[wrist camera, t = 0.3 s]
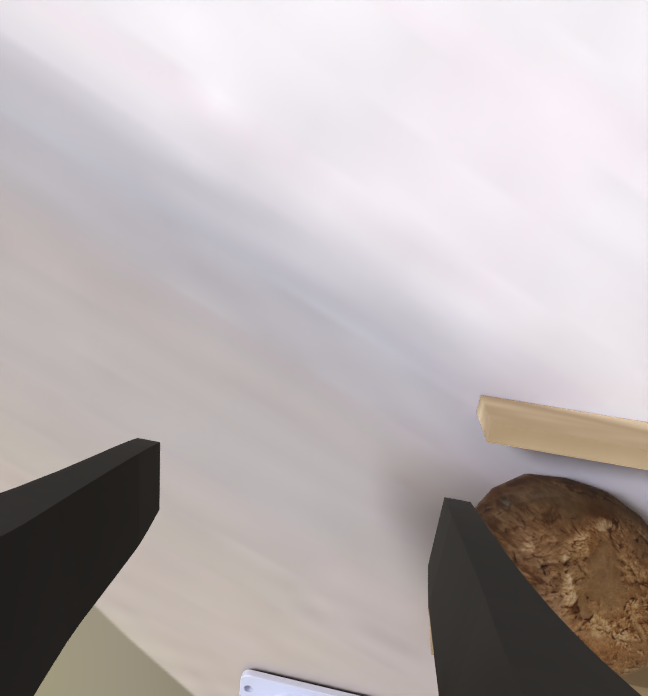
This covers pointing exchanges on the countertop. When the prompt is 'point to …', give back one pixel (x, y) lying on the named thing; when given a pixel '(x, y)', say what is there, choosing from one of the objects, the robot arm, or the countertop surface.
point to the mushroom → (579, 560)
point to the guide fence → (567, 447)
